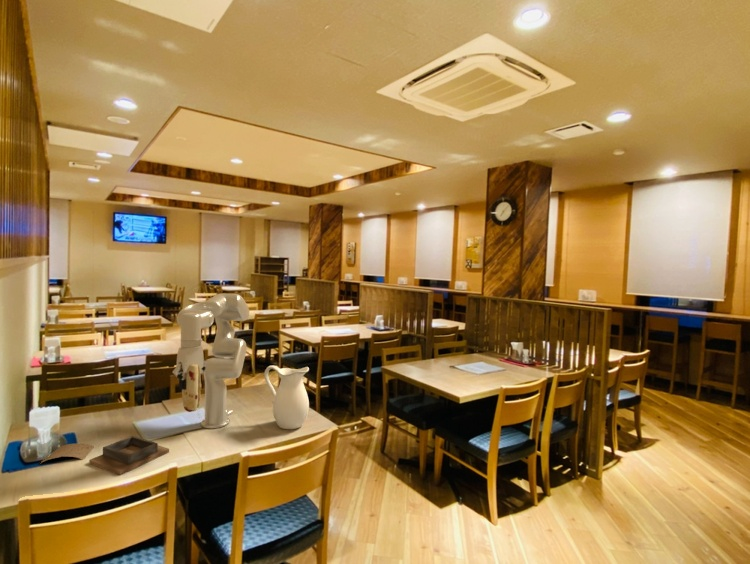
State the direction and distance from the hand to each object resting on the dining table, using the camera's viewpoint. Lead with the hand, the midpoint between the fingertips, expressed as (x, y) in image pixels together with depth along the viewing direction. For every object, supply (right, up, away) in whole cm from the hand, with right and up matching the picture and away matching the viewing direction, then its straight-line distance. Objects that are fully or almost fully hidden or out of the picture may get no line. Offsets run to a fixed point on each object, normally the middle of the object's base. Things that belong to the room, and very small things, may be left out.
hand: (190, 386), depth 164 cm
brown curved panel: (-46, -27, -6) cm, 53 cm away
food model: (0, -10, +1) cm, 10 cm away
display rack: (-21, -26, -7) cm, 34 cm away
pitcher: (+31, -26, +31) cm, 51 cm away
